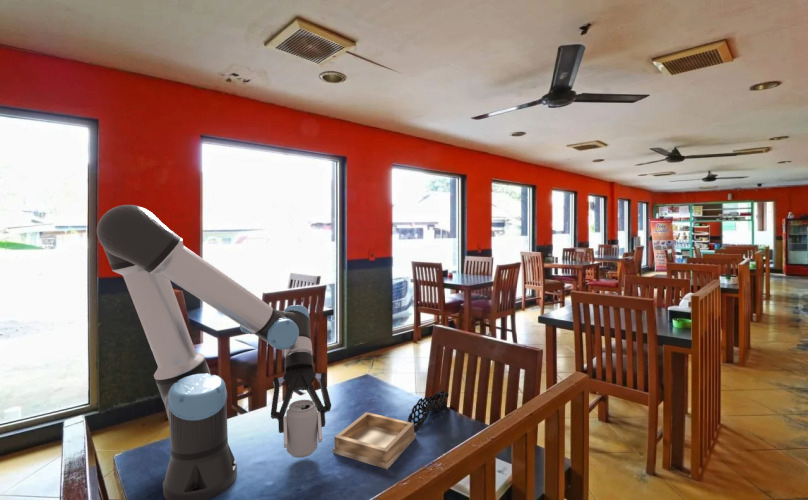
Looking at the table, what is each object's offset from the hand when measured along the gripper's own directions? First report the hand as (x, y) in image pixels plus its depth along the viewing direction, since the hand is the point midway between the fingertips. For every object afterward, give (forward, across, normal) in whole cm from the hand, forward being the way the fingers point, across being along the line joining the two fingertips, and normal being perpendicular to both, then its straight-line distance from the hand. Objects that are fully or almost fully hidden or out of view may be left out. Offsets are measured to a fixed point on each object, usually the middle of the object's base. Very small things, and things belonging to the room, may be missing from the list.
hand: (303, 443), depth 97 cm
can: (0, 0, -5) cm, 5 cm away
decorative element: (-6, -39, -15) cm, 42 cm away
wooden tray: (+1, -19, -7) cm, 20 cm away
